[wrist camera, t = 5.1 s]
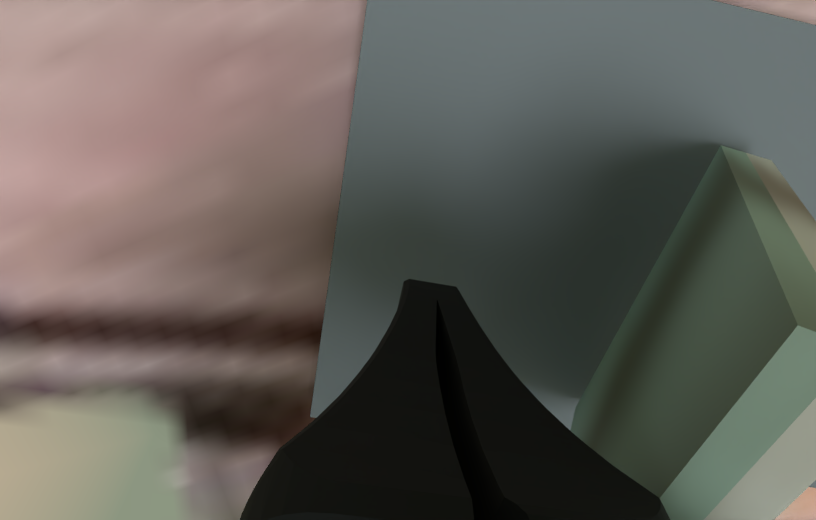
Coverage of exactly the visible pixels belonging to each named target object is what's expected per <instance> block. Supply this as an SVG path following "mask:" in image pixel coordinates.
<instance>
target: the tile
mask: <svg viewBox="0 0 816 520" xmlns="http://www.w3.org/2000/svg"><path fill="white" fill-rule="evenodd" d="M570 431H571V432H572V433H574V434H575V435H576V436H577V437H578V438H579V439H581V440H582V441H583V442H584V443H585V444H587V445H588V446H589V447H590V448H592V449H593V450H594V451H595V452H597V453H598V454H599V455H600V456H602V457H603V458H604V459H605V460H607V461H608V462H609V463H611V464H612V465H613V466H615V467H616V468H617V469H619V470H620V471H622V472H623V473H624V474H626V475H627V476H629V477H630V478H632V479H633V480H635V481H636V482H637V483H639V484H640V485H642V486H643V487H645V488H646V489H647V490H649V491H650V492H652V493H653V494H655V495H656V496H657V497H659V498H660V500H661V502H662V504H663V506H664V508H665V510H666V512H667V514H668V516H669V518H670V520H774V519H775V518H776V517H777V516H778V515H780V514H781V513H782V512H783V511H784V510H785V509H786V508H787V507H788V506H789V505H790V504H791V503H792V502H793V501H794V500H795V499H796V498H797V497H798V496H800V495H801V494H802V493H803V492H804V491H805V490H806V489H807V488H808V487H809V486H810V485H811V484H812V483H813V482H814V481H815V480H816V221H815V219H814V218H813V217H812V215H811V214H810V213H809V211H808V210H807V209H806V207H805V206H804V204H803V203H802V202H801V200H800V199H799V198H798V196H797V195H796V193H795V192H794V191H793V189H792V188H791V187H790V185H789V184H788V182H787V181H786V180H785V178H784V177H783V176H782V174H781V173H780V172H779V170H778V169H777V167H776V166H775V165H774V163H773V162H772V161H771V160H769V159H765V158H762V157H759V156H755V155H752V154H748V153H745V152H742V151H738V150H735V149H732V148H728V147H725V146H722V145H721V146H720V147H719V149H718V151H717V153H716V155H715V156H714V158H713V160H712V162H711V164H710V165H709V167H708V169H707V171H706V173H705V174H704V176H703V178H702V180H701V182H700V183H699V185H698V187H697V189H696V191H695V193H694V194H693V196H692V198H691V200H690V202H689V203H688V205H687V207H686V209H685V211H684V212H683V214H682V216H681V218H680V220H679V221H678V223H677V225H676V227H675V229H674V230H673V232H672V234H671V236H670V238H669V239H668V241H667V243H666V245H665V247H664V249H663V250H662V252H661V254H660V256H659V258H658V259H657V261H656V263H655V265H654V267H653V268H652V270H651V272H650V274H649V276H648V277H647V279H646V281H645V283H644V285H643V286H642V288H641V290H640V292H639V294H638V295H637V297H636V299H635V301H634V303H633V305H632V306H631V308H630V310H629V312H628V314H627V315H626V317H625V319H624V321H623V323H622V324H621V326H620V328H619V330H618V332H617V333H616V335H615V337H614V339H613V341H612V342H611V344H610V346H609V348H608V350H607V351H606V353H605V355H604V357H603V359H602V361H601V362H600V364H599V366H598V368H597V370H596V371H595V373H594V375H593V377H592V379H591V380H590V382H589V384H588V386H587V388H586V389H585V391H584V393H583V395H582V397H581V398H580V400H579V402H578V404H577V406H576V408H575V412H574V417H573V421H572V426H571V430H570Z"/></svg>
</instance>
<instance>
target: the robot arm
mask: <svg viewBox="0 0 816 520" xmlns="http://www.w3.org/2000/svg"><path fill="white" fill-rule="evenodd" d="M240 520H670V518H669V516H668V514H667V512H666V510H665V508H664V506H663V504H662V502H661V500H660V498H659V497H657V496H656V495H655V494H653V493H652V492H650V491H649V490H647V489H646V488H645V487H643V486H642V485H640V484H639V483H637V482H636V481H635V480H633V479H632V478H630V477H629V476H627V475H626V474H624V473H623V472H622V471H620V470H619V469H617V468H616V467H615V466H613V465H612V464H611V463H609V462H608V461H607V460H605V459H604V458H603V457H602V456H600V455H599V454H598V453H597V452H595V451H594V450H593V449H592V448H590V447H589V446H588V445H587V444H585V443H584V442H583V441H582V440H581V439H579V438H578V437H577V436H576V435H575V434H574V433H572V432H571V431H570V430H569V429H568V428H567V427H566V426H565V425H564V424H563V423H561V422H560V421H559V420H558V419H557V418H556V417H555V416H554V415H553V414H552V413H551V412H550V411H549V410H548V409H547V408H546V407H545V406H544V405H543V404H542V403H541V402H540V401H539V400H538V399H537V398H536V397H535V396H534V395H533V394H532V393H531V392H530V390H529V389H528V388H527V387H526V386H525V385H524V384H523V383H522V382H521V381H520V379H519V378H518V377H517V376H516V375H515V373H514V372H513V371H512V370H511V369H510V367H509V366H508V365H507V363H506V362H505V361H504V359H503V358H502V357H501V356H500V354H499V353H498V352H497V350H496V349H495V347H494V346H493V344H492V343H491V341H490V340H489V338H488V337H487V335H486V334H485V332H484V331H483V329H482V328H481V326H480V325H479V323H478V322H477V320H476V318H475V317H474V315H473V313H472V312H471V310H470V308H469V307H468V305H467V303H466V302H465V300H464V298H463V296H462V295H461V293H460V291H459V290H458V288H457V287H455V286H449V285H443V284H437V283H431V282H425V281H419V280H413V279H408V280H406V281H404V282H403V286H402V291H401V295H400V299H399V304H398V308H397V311H396V313H395V315H394V318H393V320H392V322H391V324H390V326H389V328H388V330H387V331H386V333H385V335H384V336H383V338H382V340H381V341H380V343H379V345H378V346H377V348H376V350H375V351H374V353H373V354H372V355H371V357H370V358H369V360H368V361H367V363H366V364H365V365H364V367H363V368H362V369H361V370H360V372H359V373H358V374H357V375H356V377H355V378H354V379H353V380H352V381H351V383H350V384H349V385H348V386H347V387H346V389H345V390H344V391H343V392H342V393H341V394H340V395H339V396H338V397H337V398H336V399H335V400H334V401H333V402H332V403H331V404H330V405H329V406H328V407H327V408H326V409H325V410H324V411H323V412H322V413H321V414H320V415H319V416H318V417H317V418H316V419H315V420H314V421H313V422H311V423H310V424H309V425H308V426H307V427H306V428H304V429H303V430H302V431H301V432H299V433H298V434H297V435H296V436H294V437H293V438H292V439H291V440H290V441H288V442H287V443H286V444H285V445H283V446H282V447H281V448H280V449H279V450H278V452H277V453H276V455H275V456H274V458H273V459H272V461H271V462H270V464H269V465H268V467H267V468H266V470H265V471H264V473H263V475H262V476H261V478H260V480H259V481H258V483H257V485H256V486H255V488H254V490H253V492H252V494H251V496H250V498H249V500H248V502H247V504H246V506H245V508H244V511H243V513H242V515H241V518H240Z"/></svg>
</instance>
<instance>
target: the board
mask: <svg viewBox="0 0 816 520" xmlns="http://www.w3.org/2000/svg"><path fill="white" fill-rule="evenodd" d="M721 145H722V146H725V147H728V148H732V149H735V150H738V151H742V152H745V153H748V154H752V155H755V156H759V157H762V158H765V159H769V160H771V161H772V162H773V163H774V165H775V166H776V167H777V169H778V170H779V172H780V173H781V174H782V176H783V177H784V178H785V180H786V181H787V182H788V184H789V185H790V187H791V188H792V189H793V191H794V192H795V193H796V195H797V196H798V198H799V199H800V200H801V202H802V203H803V204H804V206H805V207H806V209H807V210H808V211H809V213H810V214H811V215H812V217H813V218H814V219H815V221H816V25H812V24H808V23H804V22H800V21H796V20H792V19H788V18H783V17H779V16H775V15H771V14H767V13H763V12H758V11H754V10H750V9H746V8H742V7H738V6H733V5H729V4H725V3H721V2H717V1H713V0H367V7H366V14H365V22H364V29H363V36H362V44H361V51H360V58H359V65H358V73H357V80H356V87H355V94H354V102H353V109H352V116H351V123H350V131H349V138H348V145H347V153H346V160H345V167H344V174H343V182H342V189H341V196H340V203H339V211H338V218H337V225H336V232H335V240H334V247H333V254H332V261H331V269H330V276H329V283H328V291H327V298H326V305H325V312H324V320H323V327H322V334H321V341H320V349H319V356H318V363H317V370H316V378H315V385H314V392H313V400H312V407H311V414H310V417H314V418H317V417H318V416H319V415H320V414H321V413H322V412H323V411H324V410H325V409H326V408H327V407H328V406H329V405H330V404H331V403H332V402H333V401H334V400H335V399H336V398H337V397H338V396H339V395H340V394H341V393H342V392H343V391H344V390H345V389H346V387H347V386H348V385H349V384H350V383H351V381H352V380H353V379H354V378H355V377H356V375H357V374H358V373H359V372H360V370H361V369H362V368H363V367H364V365H365V364H366V363H367V361H368V360H369V358H370V357H371V355H372V354H373V353H374V351H375V350H376V348H377V346H378V345H379V343H380V341H381V340H382V338H383V336H384V335H385V333H386V331H387V330H388V328H389V326H390V324H391V322H392V320H393V318H394V315H395V313H396V311H397V308H398V304H399V299H400V295H401V291H402V286H403V282H404V281H406V280H408V279H413V280H419V281H425V282H431V283H437V284H443V285H449V286H455V287H457V288H458V290H459V291H460V293H461V295H462V296H463V298H464V300H465V302H466V303H467V305H468V307H469V308H470V310H471V312H472V313H473V315H474V317H475V318H476V320H477V322H478V323H479V325H480V326H481V328H482V329H483V331H484V332H485V334H486V335H487V337H488V338H489V340H490V341H491V343H492V344H493V346H494V347H495V349H496V350H497V352H498V353H499V354H500V356H501V357H502V358H503V359H504V361H505V362H506V363H507V365H508V366H509V367H510V369H511V370H512V371H513V372H514V373H515V375H516V376H517V377H518V378H519V379H520V381H521V382H522V383H523V384H524V385H525V386H526V387H527V388H528V389H529V390H530V392H531V393H532V394H533V395H534V396H535V397H536V398H537V399H538V400H539V401H540V402H541V403H542V404H543V405H544V406H545V407H546V408H547V409H548V410H549V411H550V412H551V413H552V414H553V415H554V416H555V417H556V418H557V419H558V420H559V421H560V422H561V423H563V424H564V425H565V426H566V427H567V428H568V429H569V430H571V426H572V421H573V417H574V412H575V408H576V406H577V404H578V402H579V400H580V398H581V397H582V395H583V393H584V391H585V389H586V388H587V386H588V384H589V382H590V380H591V379H592V377H593V375H594V373H595V371H596V370H597V368H598V366H599V364H600V362H601V361H602V359H603V357H604V355H605V353H606V351H607V350H608V348H609V346H610V344H611V342H612V341H613V339H614V337H615V335H616V333H617V332H618V330H619V328H620V326H621V324H622V323H623V321H624V319H625V317H626V315H627V314H628V312H629V310H630V308H631V306H632V305H633V303H634V301H635V299H636V297H637V295H638V294H639V292H640V290H641V288H642V286H643V285H644V283H645V281H646V279H647V277H648V276H649V274H650V272H651V270H652V268H653V267H654V265H655V263H656V261H657V259H658V258H659V256H660V254H661V252H662V250H663V249H664V247H665V245H666V243H667V241H668V239H669V238H670V236H671V234H672V232H673V230H674V229H675V227H676V225H677V223H678V221H679V220H680V218H681V216H682V214H683V212H684V211H685V209H686V207H687V205H688V203H689V202H690V200H691V198H692V196H693V194H694V193H695V191H696V189H697V187H698V185H699V183H700V182H701V180H702V178H703V176H704V174H705V173H706V171H707V169H708V167H709V165H710V164H711V162H712V160H713V158H714V156H715V155H716V153H717V151H718V149H719V147H720V146H721ZM809 487H814V488H816V480H815V481H814V482H813V483H812V484H811V485H810V486H809Z"/></svg>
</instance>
